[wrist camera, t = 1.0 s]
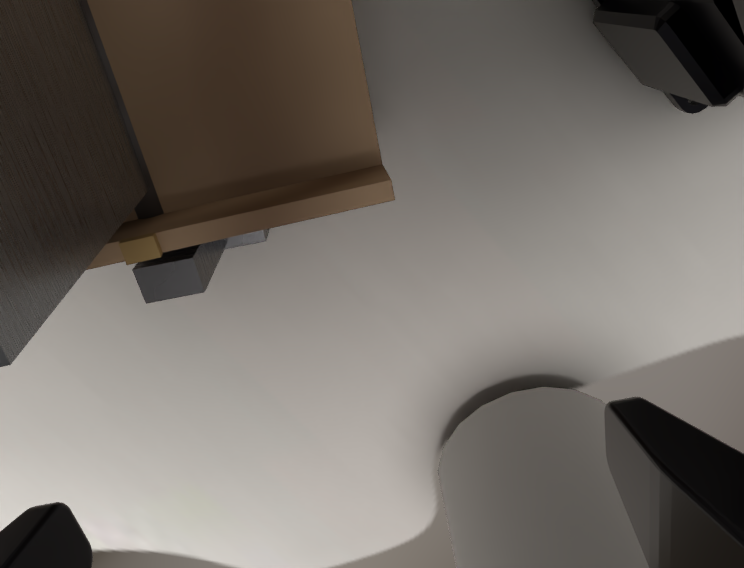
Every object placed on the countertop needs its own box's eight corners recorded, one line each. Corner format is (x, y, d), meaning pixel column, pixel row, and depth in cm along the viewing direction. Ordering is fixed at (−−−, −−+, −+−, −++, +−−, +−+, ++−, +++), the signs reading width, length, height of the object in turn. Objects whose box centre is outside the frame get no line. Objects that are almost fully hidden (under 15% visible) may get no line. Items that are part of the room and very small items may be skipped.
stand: (149, -184, 15) (83, -242, 11) (268, 232, 20) (251, 290, 16) (-4, -148, 15) (-121, -194, 11) (150, 255, 20) (105, 318, 16)
